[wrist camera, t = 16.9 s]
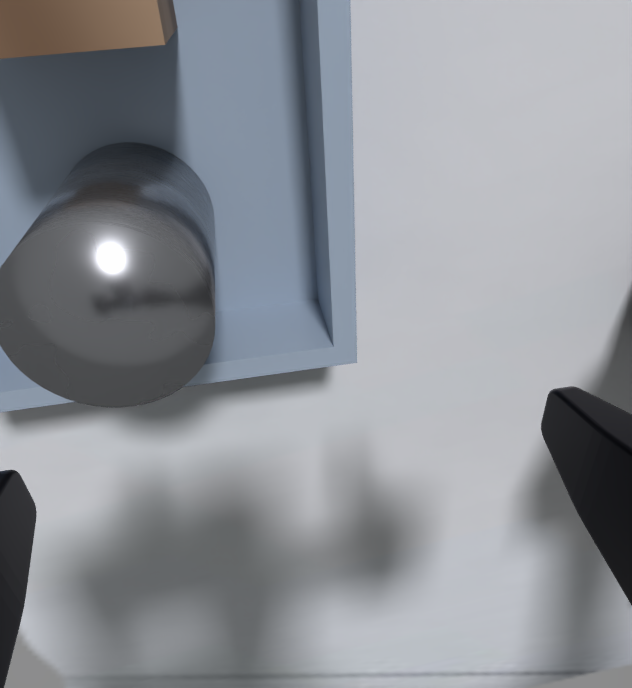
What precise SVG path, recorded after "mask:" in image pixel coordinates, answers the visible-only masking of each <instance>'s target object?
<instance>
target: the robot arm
mask: <svg viewBox="0 0 632 688" xmlns="http://www.w3.org/2000/svg"><path fill="white" fill-rule="evenodd" d="M541 430H542V435H543V438H544V440H545V443H546V445H547V447H548V449H549V451H550V454H551V456H552V458H553V460H554V462H555V465H556V467H557V469H558V471H559V474H560V476H561V478H562V480H563V482H564V485H565V487H566V489H567V491H568V494H569V496H570V498H571V500H572V502H573V504H574V506H575V508H576V510H577V512H578V514H579V516H580V518H581V520H582V521H583V523H584V525H585V527H586V528H587V530H588V532H589V534H590V535H591V537H592V539H593V540H594V542H595V544H596V545H597V547H598V549H599V551H600V552H601V554H602V556H603V557H604V559H605V561H606V562H607V564H608V566H609V568H610V569H611V571H612V573H613V574H614V576H615V578H616V579H617V581H618V583H619V585H620V586H621V588H622V590H623V591H624V593H625V595H626V596H627V598H628V600H629V602H630V603H631V605H632V414H630V413H628V412H626V411H624V410H622V409H620V408H618V407H616V406H614V405H612V404H610V403H608V402H606V401H603V400H601V399H599V398H597V397H595V396H593V395H591V394H589V393H587V392H585V391H583V390H581V389H579V388H577V387H564V388H557V389H553V390H551V391H550V393H549V394H548V397H547V401H546V406H545V410H544V414H543V418H542V423H541ZM35 523H36V506H35V503H34V501H33V499H32V497H31V495H30V493H29V491H28V489H27V487H26V485H25V483H24V481H23V479H22V478H21V476H20V474H19V473H18V472H17V471H15V470H6V471H0V688H4V685H5V681H6V677H7V674H8V670H9V665H10V661H11V658H12V653H13V650H14V646H15V642H16V638H17V634H18V630H19V626H20V622H21V617H22V613H23V609H24V603H25V597H26V590H27V583H28V575H29V568H30V560H31V553H32V545H33V538H34V531H35Z"/></svg>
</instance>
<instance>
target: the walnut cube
mask: <svg viewBox="0 0 632 688" xmlns="http://www.w3.org/2000/svg"><path fill="white" fill-rule="evenodd" d="M177 27H178V26H177V21H176V15H175V9H174V4H173V0H0V59H4V58H16V57H28V56H39V55H51V54H63V53H75V52H87V51H99V50H110V49H122V48H134V47H146V46H158V45H165V44H166V43H167V42H168V40H169V39H170V37H171V36H172V35H173V33H174V32H175V30H176V29H177Z"/></svg>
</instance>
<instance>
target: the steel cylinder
mask: <svg viewBox="0 0 632 688" xmlns="http://www.w3.org/2000/svg"><path fill="white" fill-rule="evenodd" d="M214 336H215V218H214V209H213V205H212V201H211V198H210V196H209V193H208V191H207V189H206V187H205V185H204V183H203V182H202V181H201V179H200V178H199V176H198V175H197V174H196V173H195V172H194V171H193V169H192V168H191V167H190V166H188V165H187V164H186V163H185V162H184V161H183V160H181V159H180V158H178V157H177V156H175V155H174V154H172V153H170V152H168V151H166V150H164V149H161V148H158V147H156V146H152V145H148V144H144V143H135V142H121V143H115V144H110V145H107V146H103V147H101V148H98V149H96V150H94V151H92V152H91V153H89V154H88V155H86V156H85V157H83V158H82V159H81V160H80V161H79V162H78V163H77V164H76V165H75V167H74V168H73V169H72V170H71V172H70V173H69V174H68V176H67V177H66V179H65V180H64V181H63V183H62V184H61V185H60V187H59V188H58V189H57V191H56V192H55V194H54V195H53V196H52V198H51V199H50V200H49V202H48V203H47V204H46V206H45V207H44V209H43V210H42V211H41V213H40V214H39V215H38V217H37V218H36V220H35V221H34V222H33V224H32V225H31V226H30V228H29V229H28V230H27V232H26V233H25V235H24V236H23V237H22V239H21V240H20V241H19V243H18V244H17V245H16V247H15V248H14V250H13V251H12V252H11V254H10V255H9V256H8V258H7V259H6V261H5V262H4V263H3V265H2V266H1V268H0V345H1V347H2V349H3V351H4V352H5V354H6V355H7V356H8V358H9V359H10V360H11V362H12V363H13V364H14V365H15V366H16V367H17V368H18V369H19V370H20V371H21V372H22V373H23V374H24V375H26V376H27V377H28V378H29V379H30V380H32V381H33V382H35V383H36V384H38V385H39V386H41V387H42V388H44V389H46V390H48V391H50V392H52V393H54V394H56V395H58V396H61V397H63V398H66V399H68V400H72V401H75V402H78V403H82V404H87V405H92V406H101V407H129V406H136V405H141V404H146V403H150V402H153V401H156V400H159V399H161V398H164V397H166V396H168V395H170V394H172V393H174V392H175V391H177V390H179V389H180V388H182V387H183V386H184V385H186V384H187V383H188V382H189V381H190V380H191V379H192V378H193V377H194V376H195V375H196V374H197V373H198V372H199V371H200V369H201V368H202V367H203V365H204V363H205V362H206V360H207V358H208V356H209V354H210V351H211V348H212V346H213V341H214Z"/></svg>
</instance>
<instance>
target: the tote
mask: <svg viewBox="0 0 632 688" xmlns="http://www.w3.org/2000/svg"><path fill="white" fill-rule="evenodd" d="M173 4H174V9H175V15H176V21H177V26H178V27H177V29H176V30H175V32H174V33H173V35H172V36H171V37H170V39H169V40H168V42H167V43H166V44H165V45H158V46H146V47H134V48H122V49H110V50H99V51H87V52H75V53H63V54H51V55H39V56H28V57H16V58H4V59H0V268H1V266H2V265H3V263H4V262H5V261H6V259H7V258H8V256H9V255H10V254H11V252H12V251H13V250H14V248H15V247H16V245H17V244H18V243H19V241H20V240H21V239H22V237H23V236H24V235H25V233H26V232H27V230H28V229H29V228H30V226H31V225H32V224H33V222H34V221H35V220H36V218H37V217H38V215H39V214H40V213H41V211H42V210H43V209H44V207H45V206H46V204H47V203H48V202H49V200H50V199H51V198H52V196H53V195H54V194H55V192H56V191H57V189H58V188H59V187H60V185H61V184H62V183H63V181H64V180H65V179H66V177H67V176H68V174H69V173H70V172H71V170H72V169H73V168H74V167H75V165H76V164H77V163H78V162H79V161H80V160H81V159H82V158H83V157H85V156H86V155H88V154H89V153H91V152H92V151H94V150H96V149H98V148H101V147H103V146H107V145H110V144H115V143H121V142H135V143H144V144H148V145H152V146H156V147H158V148H161V149H164V150H166V151H168V152H170V153H172V154H174V155H175V156H177V157H178V158H180V159H181V160H183V161H184V162H185V163H186V164H187V165H188V166H190V167H191V168H192V169H193V171H194V172H195V173H196V174H197V175H198V176H199V178H200V179H201V181H202V182H203V183H204V185H205V187H206V189H207V191H208V193H209V196H210V198H211V201H212V205H213V209H214V218H215V336H214V341H213V346H212V348H211V351H210V354H209V356H208V358H207V360H206V362H205V363H204V365H203V367H202V368H201V369H200V371H199V372H198V373H197V374H196V375H195V376H194V377H193V378H192V379H191V380H190V381H189V382H188V383H187V384H186V385H184V386H183V387H186V386H193V385H200V384H207V383H215V382H222V381H229V380H236V379H243V378H251V377H258V376H265V375H272V374H279V373H286V372H294V371H301V370H308V369H315V368H322V367H330V366H337V365H344V364H351V363H357V336H356V282H355V228H354V175H353V121H352V67H351V13H350V0H173ZM71 402H75V401H72V400H68V399H66V398H63V397H61V396H58V395H56V394H54V393H52V392H50V391H48V390H46V389H44V388H42V387H41V386H39V385H38V384H36V383H35V382H33V381H32V380H30V379H29V378H28V377H27V376H26V375H24V374H23V373H22V372H21V371H20V370H19V369H18V368H17V367H16V366H15V365H14V364H13V363H12V362H11V360H10V359H9V358H8V356H7V355H6V354H5V352H4V351H3V349H2V347H1V345H0V412H6V411H13V410H21V409H28V408H35V407H42V406H49V405H57V404H64V403H71Z"/></svg>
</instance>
